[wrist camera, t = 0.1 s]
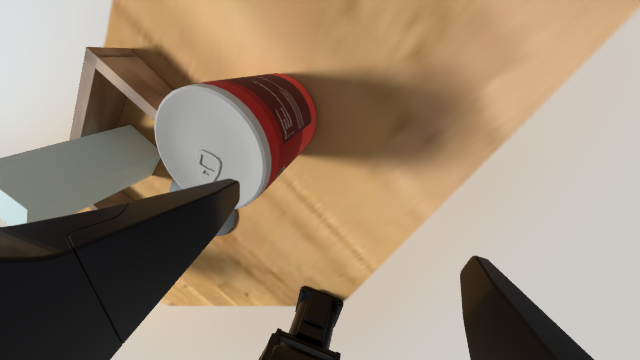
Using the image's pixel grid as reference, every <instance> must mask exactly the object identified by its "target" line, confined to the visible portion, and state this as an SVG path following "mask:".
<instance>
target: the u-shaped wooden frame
mask: <svg viewBox="0 0 640 360" xmlns="http://www.w3.org/2000/svg"><path fill="white" fill-rule="evenodd" d="M172 91H173V89H172V88H171V87H170V86H169V85H168V84H167V83H166V82H165V81H164V80H162V79H161V78H160V77H159V76H158V75H157V74H156V73H155V72H154V71H153V70H152V69H151V68H150V67H149V66H147V65H146V64H145V63H144V62H143V61H142V60H141V59H140V58H139V57H138V56H137V55H136V54H135V53H134V52H132V51H131V50H130V49H129V48H101V47H86V52H85V57H84V63H83V68H82V74H81V79H80V85H79V90H78V97H77V102H76V107H75V113H74V118H73V124H72V129H71V135H70V140H73V139H77V138H81V137H85V136H89V135H93V134H96V133H100V132H104V131H108V130H112V129H116V126H117V123H118V120H119V117H120V114H121V111H122V108H123V105H124V102H125V98H126V96H127V97H128V98H129V99H130V100H132V101H133V102H134V103H135V104H136V105H137V106H138V107H139V108H140V109H142V110H143V111H144V112H145V113H146V114H147V115H148V116H149V117H151V118H152V119H153V120H154V121H155V117H156V113H157V111H158V108H159V105H160V104H161V102H162V101H163V99H164V98H165V97H166V96H167V95H168V94H170V93H171V92H172ZM132 201H133V200H132V199H131V198H130V197H129V196H127V195H126V194H125V193H124V192H123V191H119V192H117V193H115V194H113V195H111V196H109V197H107V198H105V199H103V200H101V201H99V202H97V203H95V204H93V205H90V206H88V207H89V208H91V209H92V210H97V209H101V208H106V207H110V206H114V205H119V204H123V203H127V202H129V203H130V202H132Z"/></svg>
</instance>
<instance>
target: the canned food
mask: <svg viewBox="0 0 640 360" xmlns="http://www.w3.org/2000/svg"><path fill="white" fill-rule="evenodd" d="M154 128H155V139H156V144H157V148H158V151H159V154H160V156H161V159H162V161H163V163H164V165H165V167H166V169H167V170H168V172H169V173H170V175H171V176H172V177H173V179H174V180H175V181H176V182H177V184H178V185H179V186H180V187H181V188H182V189H186V188H190V187H194V186H199V185H203V184H207V183H211V182H215V181H220V180H224V179H228V178H231V179H234V180H237V181H239V183H240V200H239V202H238V204H237V206H236V207H235V209H239V208H241V207H244V206H246V205H248V204H249V203H251V202H252V201H254V200H255V199H256V198H258V197H259V196H260V195H261V194H262V193H263V192H264V191H265V190H266V189H267V188H268V187H269V186H270V185H271V184H272V182H273V181H274V180H275V179H276V178H277V177H278V176H279V175H280V174H281V173H282V172H283V171H284V170H285V169H286V168H287V167H288V165H289V164H290V163H291V162H292V161H293V160H294V159H295V158H296V157H297V156H298V155H299V154H300V153H301V152H302V151H303V150H304V148H305V147H306V146H307V145H308V144H309V143H310V141H311V139H312V137H313V135H314V132H315V128H316V110H315V106H314V102H313V100H312V98H311V96H310V94H309V93H308V91H307V90H306V89H305V88H304V87H303V86H302V85H301V84H300V83H299V82H298V81H296V80H295V79H293V78H292V77H289V76H287V75H284V74H277V73H275V74H265V75H257V76H249V77H241V78H233V79H225V80H217V81H209V82H202V83H197V84H190V85H187V86H185V87H181V88H178V89H176V90H173V91H172V92H171V93H170V94H168V95H167V96H166V97H165V98H164V99H163V101H162V102H161V104H160V105H159V108H158V111H157V113H156V117H155V126H154Z"/></svg>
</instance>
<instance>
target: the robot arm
mask: <svg viewBox="0 0 640 360" xmlns="http://www.w3.org/2000/svg"><path fill="white" fill-rule="evenodd" d="M239 200H240V183H239V181H237V180H234V179H231V178H228V179H224V180H220V181H215V182H211V183H207V184H203V185H199V186H194V187H190V188H186V189H182V190H178V191H173V192H169V193H165V194H161V195H157V196H152V197H148V198H144V199H140V200H136V201H132V202H130V203H129V202H127V203H123V204H119V205H114V206H110V207H106V208H101V209H97V210H92V211H87V212H82V213H77V214H72V215H66V216H61V217H56V218H50V219H45V220H40V221H35V222H29V223H24V224H19V225H13V226H7V227H0V360H110V359H111V358H112V357H113V355H114V354H115V353H116V352H117V351H118V350H119V348H120V347H121V346H122V344H123V343H124V342H125V341H126V340H127V339H128V337H129V336H130V335H131V334H132V333H133V332H134V331H135V329H136V328H137V327H138V326H139V325H140V323H141V322H142V321H143V320H144V319H145V318H146V316H147V315H148V314H149V313H150V312H151V311H152V309H153V308H154V307H155V306H156V305H157V304H158V302H159V301H160V300H161V299H162V298H163V297H164V295H165V294H166V293H167V292H168V291H169V290H170V288H171V287H172V286H173V285H174V284H175V282H176V281H177V280H178V279H179V278H180V277H181V275H182V274H183V273H184V272H185V271H186V270H187V268H188V267H189V266H190V265H191V264H192V263H193V261H194V260H195V259H196V258H197V257H198V256H199V254H200V253H201V252H202V251H203V250H204V249H205V247H206V246H207V245H208V244H209V243H210V241H211V240H212V239H213V238H214V237H215V236H216V234H217V233H218V232H219V230H220V229H221V228H222V226H223V225H224V223H225V222H226V220H227V219H228V217H229V216H230V214H231V213H232V212H233V210H234V209H235V207H236V206H237V204H238V202H239ZM460 282H461V296H462V309H463V320H464V326H465V331H466V337H467V342H468V348H469V353H470V358H471V360H594V359H593V358H592V357H591V356H590V355H588V353H586V352H585V351H584V350H583V349H582V348H581V347H580V346H579V345H578V344H577V343H576V342H575V341H574V340H572V339H571V337H569V336H568V335H567V334H566V333H565V332H564V331H563V330H562V329H561V328H560V327H559V326H558V325H557V324H556V323H555V322H553V321H552V320H551V319H550V318H549V317H548V316H547V315H546V314H545V313H544V312H543V311H542V310H541V309H539V307H538V306H537V305H535V304H534V303H533V302H532V301H531V300H530V299H529V298H528V297H527V296H526V295H525V294H524V293H523V292H522V291H521V290H520V289H519V288H517V287H516V286H515V285H514V284H513V283H512V282H511V281H510V280H509V279H508V278H507V277H506V276H505V275H504V274H503V273H502V272H500V271H499V270H498V269H497V268H496V267H495V266H494V265H493V264H492V263H491V262H490V261H489V260H487V259H485V258H482V257H479V256H472V258H470V260H469V261H468V262H467V264H466V265H465V267H464V268H463V269H462V271H461V274H460ZM342 307H343V301H341V300H339V299H336V298H333V297H331V296H328V295H325V294H323V293H320V292H317V291H315V290H312V289H309V288H307V287H301V289H300V293H299V297H298V302H297V306H296V311H295V312H296V314H295V317H294V320H293V323H292V325H291V328H290V330H289V333H286V332H284V331H282V330H281V329H279V328H278V329H277V331H276V333H273V334H272V335H271V337H270V339H269V342H268V344H267V346H266V348H265V350H264V351H263V353H262V355H261V356H260V358H259V360H340V353H338V352H333V351H331V350H329V346H330V341H331V336H332V332H333V328H334V327H335V324H336V322H337V320H338V317H339V315H340V312H341V310H342Z"/></svg>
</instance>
